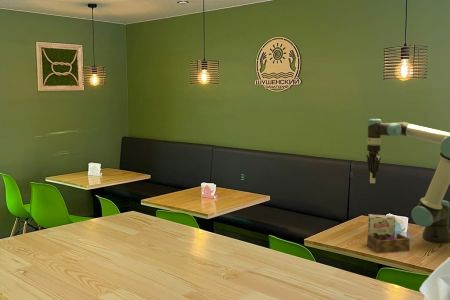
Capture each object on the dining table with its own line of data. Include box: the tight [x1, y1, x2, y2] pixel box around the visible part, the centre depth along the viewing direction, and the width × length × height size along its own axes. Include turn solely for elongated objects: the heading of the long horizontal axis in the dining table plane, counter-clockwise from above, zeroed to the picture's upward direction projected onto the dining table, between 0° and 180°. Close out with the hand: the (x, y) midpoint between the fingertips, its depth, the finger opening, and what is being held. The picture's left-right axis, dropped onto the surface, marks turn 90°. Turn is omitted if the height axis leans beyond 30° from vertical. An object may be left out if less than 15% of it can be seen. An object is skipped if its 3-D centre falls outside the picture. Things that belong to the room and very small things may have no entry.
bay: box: [366, 232, 411, 253], centre depth 247 cm, size 19×10×6 cm, turn 101°
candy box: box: [367, 213, 396, 240], centre depth 252 cm, size 14×6×16 cm, turn 76°
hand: (372, 183), depth 277 cm, fingers closed
